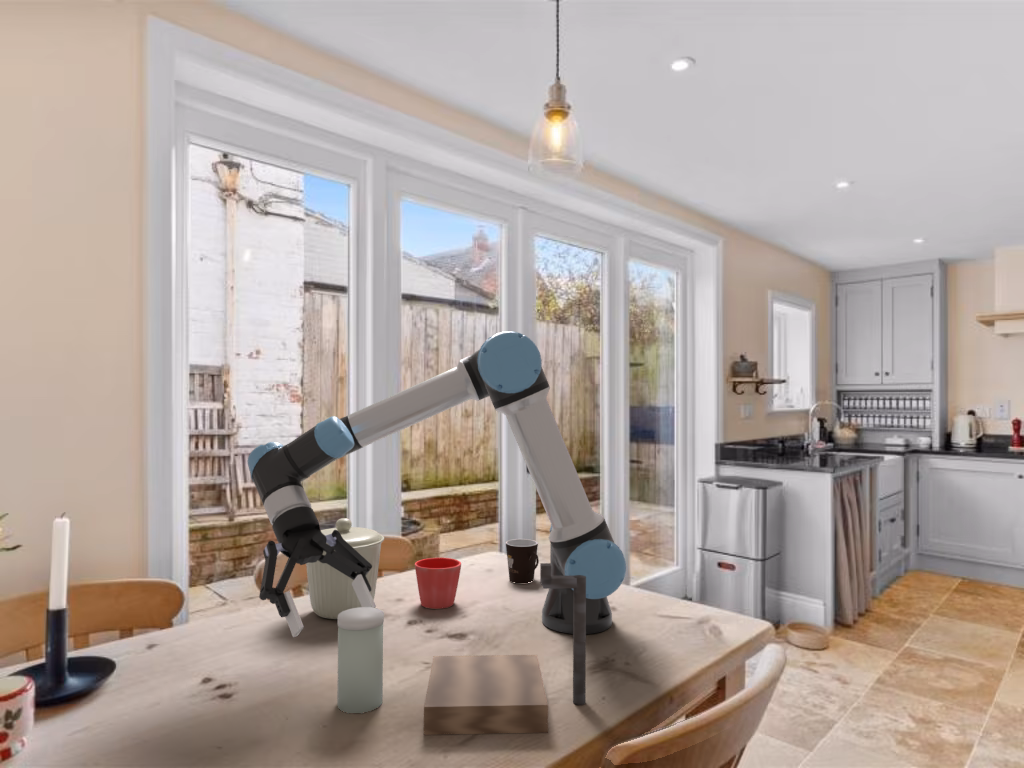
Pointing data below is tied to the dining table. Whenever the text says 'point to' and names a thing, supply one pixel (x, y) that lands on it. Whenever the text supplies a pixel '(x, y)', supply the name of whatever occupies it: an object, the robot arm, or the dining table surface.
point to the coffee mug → (522, 559)
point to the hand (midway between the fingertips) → (336, 621)
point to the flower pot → (437, 581)
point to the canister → (332, 586)
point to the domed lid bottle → (360, 659)
